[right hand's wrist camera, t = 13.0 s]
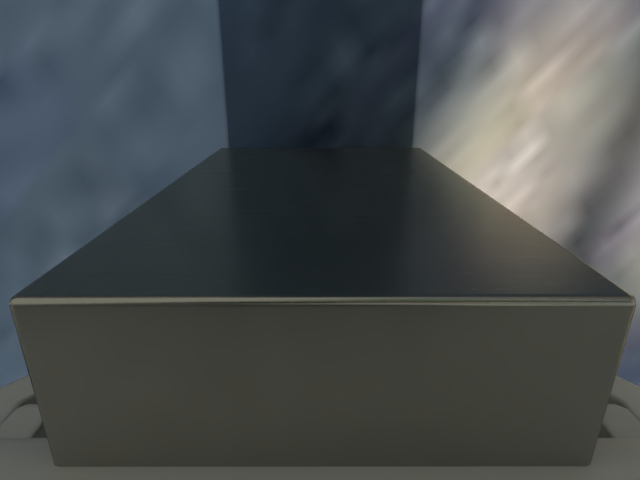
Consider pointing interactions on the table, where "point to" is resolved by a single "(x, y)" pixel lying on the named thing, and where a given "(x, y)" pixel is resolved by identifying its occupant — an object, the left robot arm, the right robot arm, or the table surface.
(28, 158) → the table surface
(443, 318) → the box
